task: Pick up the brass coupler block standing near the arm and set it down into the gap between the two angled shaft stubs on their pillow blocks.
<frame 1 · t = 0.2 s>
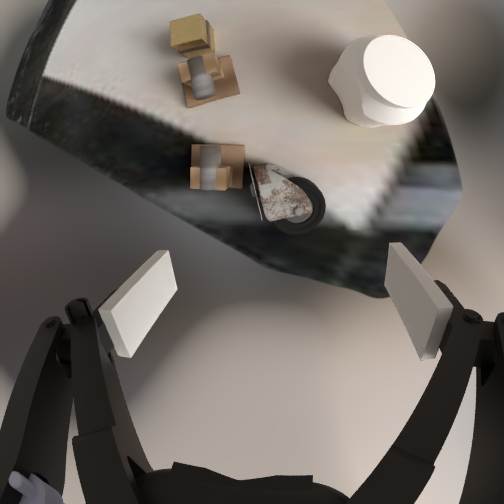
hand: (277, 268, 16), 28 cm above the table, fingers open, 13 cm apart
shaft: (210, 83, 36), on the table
coupler: (200, 43, 33), on the table
caster wheel: (289, 192, 42), on the table
jar: (364, 91, 33), on the table
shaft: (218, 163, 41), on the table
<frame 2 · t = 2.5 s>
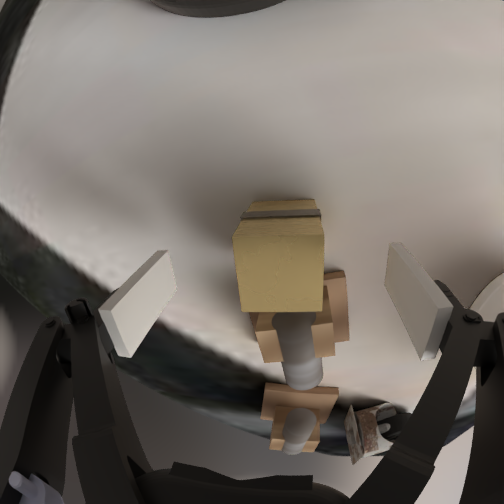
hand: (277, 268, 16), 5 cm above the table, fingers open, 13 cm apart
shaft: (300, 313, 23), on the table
coupler: (285, 229, 20), on the table
caster wheel: (380, 414, 29), on the table
jar: (497, 313, 20), on the table
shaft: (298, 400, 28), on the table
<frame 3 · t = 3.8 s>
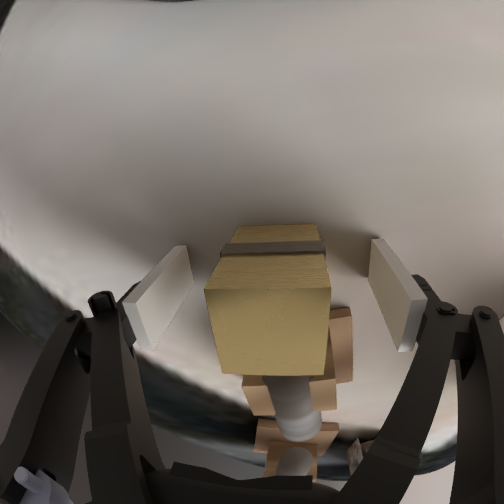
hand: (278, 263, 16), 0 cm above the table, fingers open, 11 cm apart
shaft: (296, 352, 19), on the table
coupler: (279, 260, 17), on the table
caster wheel: (385, 443, 25), on the table
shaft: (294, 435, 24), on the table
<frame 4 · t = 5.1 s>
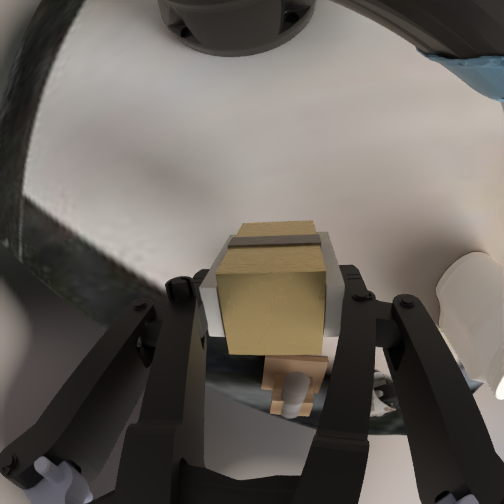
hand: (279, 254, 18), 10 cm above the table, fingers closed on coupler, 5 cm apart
coupler: (279, 254, 18), point 10 cm above the table, touching gripper
caster wheel: (372, 385, 35), on the table
jar: (465, 292, 27), on the table
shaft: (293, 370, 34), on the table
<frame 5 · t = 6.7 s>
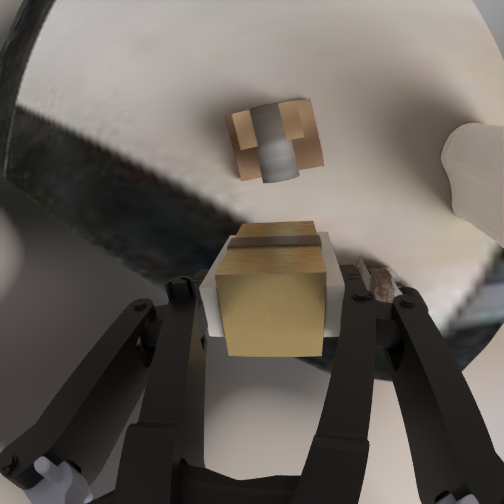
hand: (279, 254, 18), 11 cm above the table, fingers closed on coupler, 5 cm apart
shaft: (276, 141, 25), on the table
coupler: (279, 255, 18), point 11 cm above the table, touching gripper
caster wheel: (386, 296, 30), on the table
jar: (475, 172, 22), on the table
when the fingers open (1 cm above the table, at t = 8.8 s): coupler stays where it is, on the table.
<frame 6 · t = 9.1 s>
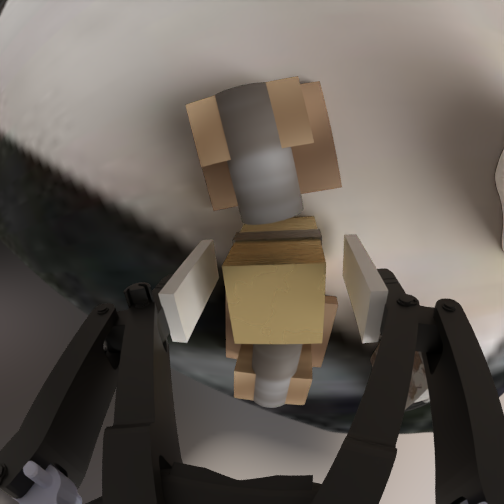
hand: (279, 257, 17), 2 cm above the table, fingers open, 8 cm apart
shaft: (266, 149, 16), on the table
coupler: (282, 249, 19), on the table
caster wheel: (416, 353, 21), on the table
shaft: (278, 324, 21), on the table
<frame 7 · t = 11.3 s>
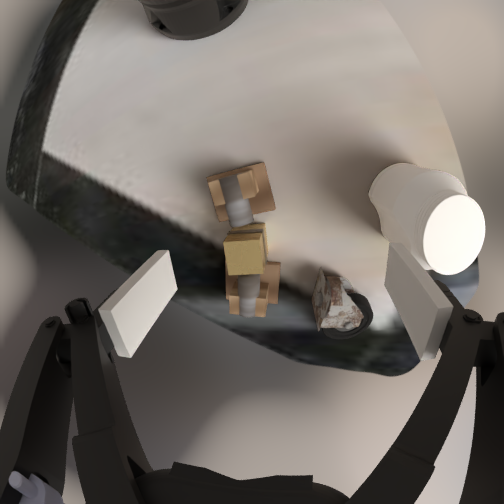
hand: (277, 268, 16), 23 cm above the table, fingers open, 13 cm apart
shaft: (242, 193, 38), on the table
coupler: (251, 239, 40), on the table
caster wheel: (341, 299, 42), on the table
jar: (403, 202, 35), on the table
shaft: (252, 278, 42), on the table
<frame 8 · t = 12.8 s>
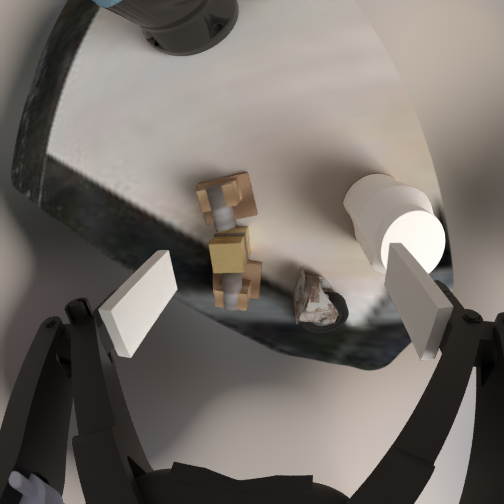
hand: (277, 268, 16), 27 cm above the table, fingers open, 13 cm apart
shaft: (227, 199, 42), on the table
coupler: (236, 240, 45), on the table
caster wheel: (320, 296, 47), on the table
jar: (376, 210, 40), on the table
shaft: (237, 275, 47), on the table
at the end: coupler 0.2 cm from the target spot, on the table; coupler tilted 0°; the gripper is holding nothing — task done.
